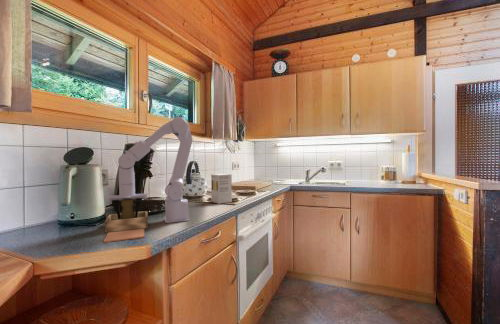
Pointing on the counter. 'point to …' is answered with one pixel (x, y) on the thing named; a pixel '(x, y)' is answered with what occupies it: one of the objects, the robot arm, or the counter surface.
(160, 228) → the counter surface
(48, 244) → the counter surface
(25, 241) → the counter surface
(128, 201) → the cork
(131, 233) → the terracotta tile
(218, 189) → the supplement box
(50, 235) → the counter surface
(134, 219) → the birch box
